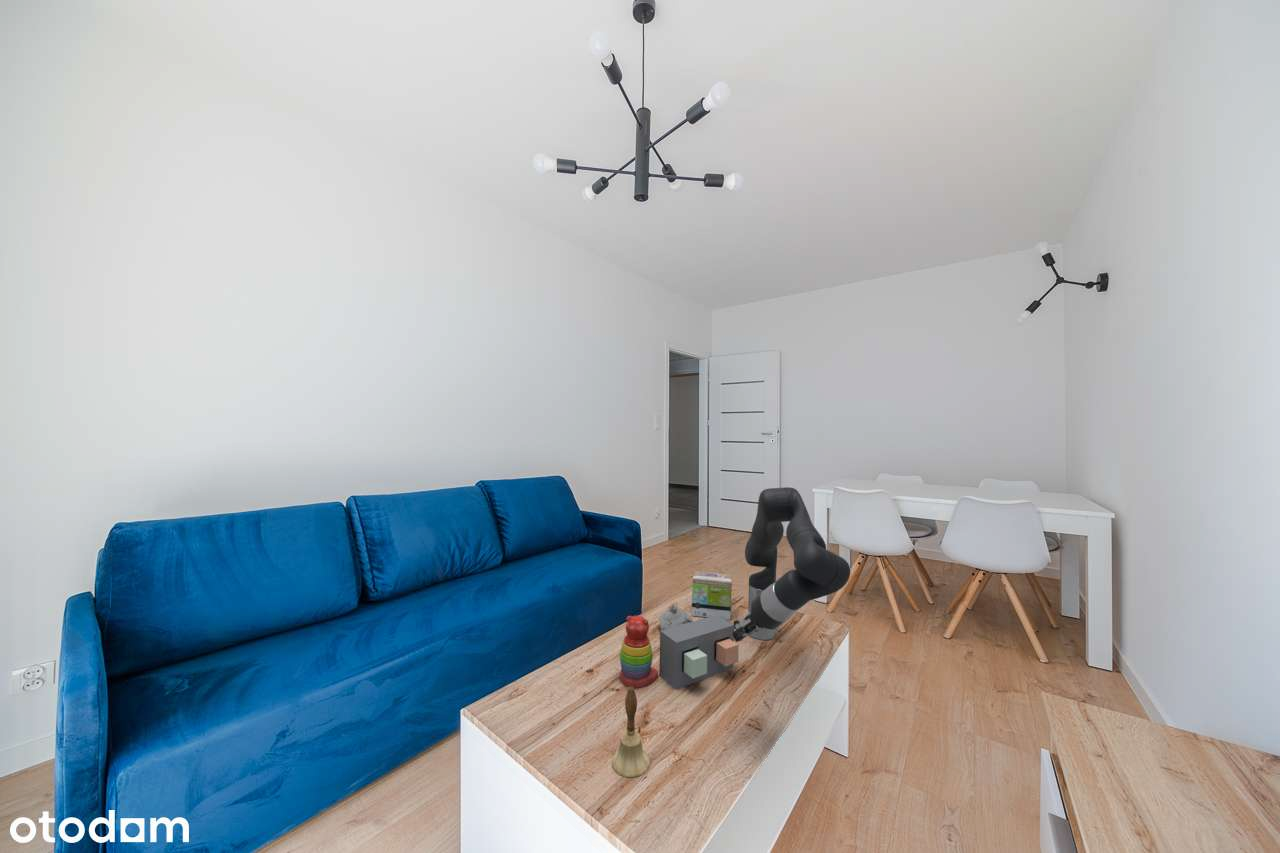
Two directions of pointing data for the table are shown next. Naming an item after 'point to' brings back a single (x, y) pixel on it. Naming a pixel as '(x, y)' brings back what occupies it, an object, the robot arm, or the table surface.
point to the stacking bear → (636, 654)
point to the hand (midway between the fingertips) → (736, 637)
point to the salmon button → (727, 652)
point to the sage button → (695, 663)
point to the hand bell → (630, 744)
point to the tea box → (711, 595)
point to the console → (692, 648)
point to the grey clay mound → (673, 618)
